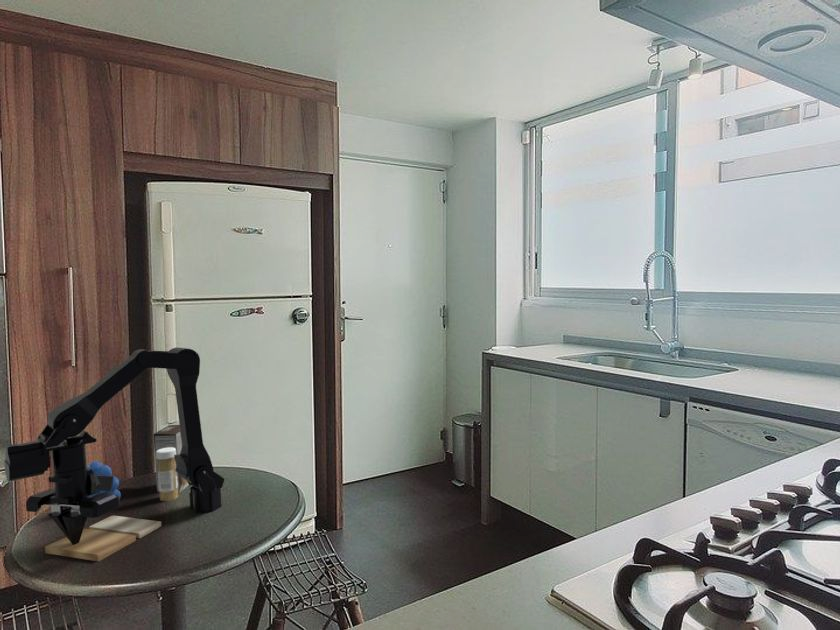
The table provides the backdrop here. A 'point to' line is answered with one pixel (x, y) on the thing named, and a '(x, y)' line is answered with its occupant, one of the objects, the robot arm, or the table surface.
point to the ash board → (126, 525)
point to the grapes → (104, 471)
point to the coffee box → (166, 439)
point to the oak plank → (91, 545)
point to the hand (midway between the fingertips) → (75, 543)
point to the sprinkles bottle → (167, 474)
